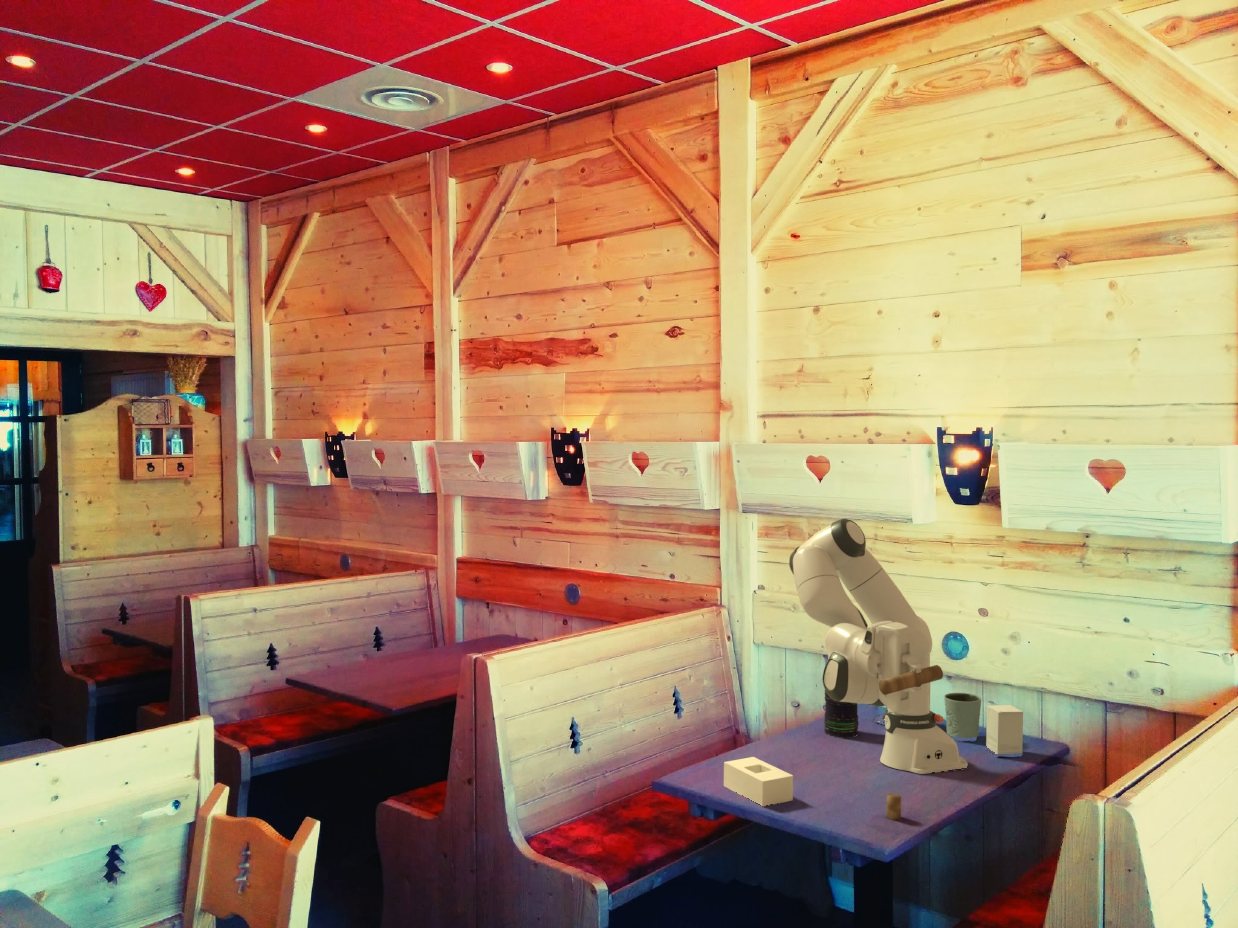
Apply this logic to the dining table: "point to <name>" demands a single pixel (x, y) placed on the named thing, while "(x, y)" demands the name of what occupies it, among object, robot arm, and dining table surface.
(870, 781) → the dining table surface
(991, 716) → the supplement box
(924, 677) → the long walnut pin
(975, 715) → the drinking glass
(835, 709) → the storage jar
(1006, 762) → the dining table surface
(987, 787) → the dining table surface
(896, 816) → the short walnut pin
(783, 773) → the bar
